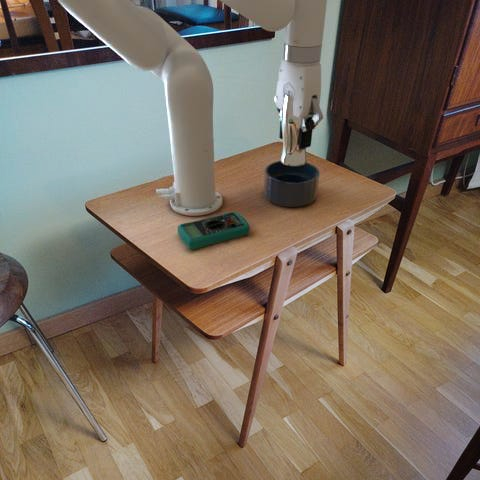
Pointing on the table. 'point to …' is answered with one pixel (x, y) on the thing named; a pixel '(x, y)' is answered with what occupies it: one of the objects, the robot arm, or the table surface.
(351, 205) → the table surface
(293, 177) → the dark blue bowl
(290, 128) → the silver metal tumbler
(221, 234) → the digital multimeter
